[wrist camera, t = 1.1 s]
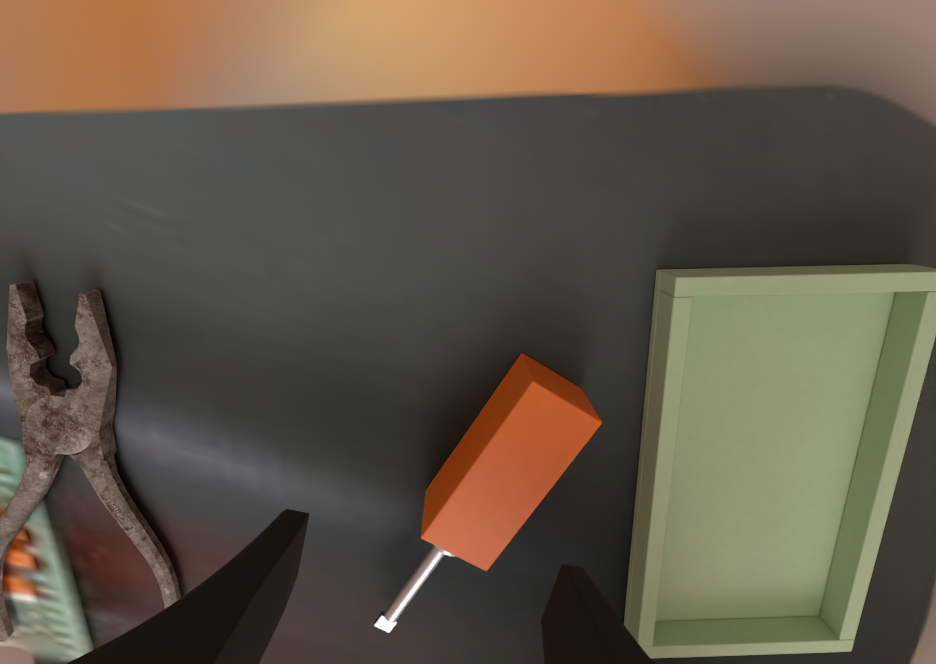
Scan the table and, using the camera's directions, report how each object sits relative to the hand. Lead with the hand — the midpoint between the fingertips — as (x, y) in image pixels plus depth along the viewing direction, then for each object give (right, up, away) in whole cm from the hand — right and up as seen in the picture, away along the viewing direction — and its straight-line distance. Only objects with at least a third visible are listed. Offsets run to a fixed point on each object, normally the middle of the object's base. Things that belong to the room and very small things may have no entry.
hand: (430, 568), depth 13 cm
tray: (+15, 0, +10) cm, 18 cm away
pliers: (-19, -1, +10) cm, 21 cm away
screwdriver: (+1, -2, +11) cm, 11 cm away
